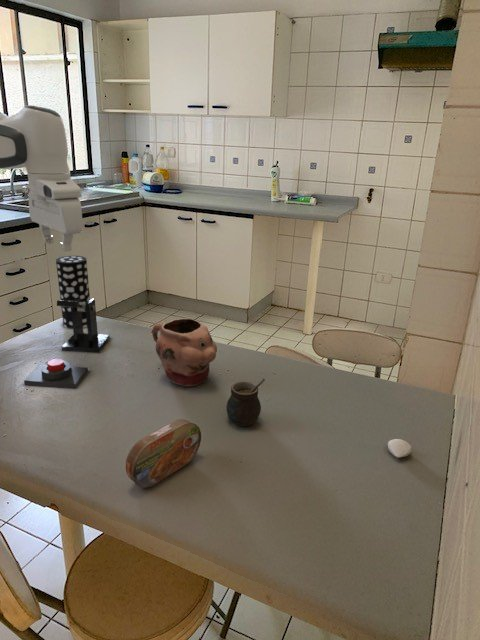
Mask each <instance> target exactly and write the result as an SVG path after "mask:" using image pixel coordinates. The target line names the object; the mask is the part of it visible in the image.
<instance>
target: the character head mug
mask: <svg viewBox="0 0 480 640" xmlns="http://www.w3.org/2000/svg"><path fill="white" fill-rule="evenodd" d="M151 333H152V334H151V335H152V338H153V341H154V342H155V352H156V354H157V357H158V358H159V361H160V362H161V365H162V367H163V369H164V372H165V374H166V377H167V379H168V380H169V381H170V382H172V383H173V384H176V385H179V386H184V387H194V386H197V385H200V384H202V383H204V382H205V381H206V380H207V379H208V378H209V374H210V363H212V362H213V361H214V360H215V359H216V357H217V352H218V347H217V344H216V342H215V341H214V339H213V338H212V335H211V333H210V331H209V329H208V326H207V325H205V324H203V323H202V322H200V321H198V320H195V319H193V318H185V317H184V318H176V319H172V320H168V321H166V322H165V323H161V322H157V323H155V324H154V325H153V326H152V329H151ZM158 333H159V334H158ZM158 335H159V336H158Z"/></svg>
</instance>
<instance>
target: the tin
mask: <svg viewBox="0 0 480 640" xmlns="http://www.w3.org/2000/svg"><path fill="white" fill-rule="evenodd" d="M201 442H202V432H201V428H200V427H199V425H197V423H195V422H192V421H190V420H187V419H185V418H180V419H175V420H174V421H171V422H170V423H167V424H166V425H164V426H162V427H161V428H158V429H156V430H155V431H153V432H151V433H149V434H147V435H145V436H144V437H141V439H139V440H138V441H137V442H135V443H134V444H133V446H132V447H131V449H130V450H129V452H128V454H127V456H126V459H125V472H126V475H127V477H128V478H129V479H130V480H131V481H132V482H134V483H135V485H136V486H138V487H139V488H143V489H145V488H146V489H147V488H150V487H153V486H155V485H157V484H159V482H161V481H162V480H164V479H166V478H168V477H169V476H170V475H172V474H174V473H175V472H177V471H178V470H180V469H182V468H183V467H185V466H187V465H188V464H189V463H191V461H192V460H193V459H194V458H195V456H196V455H197V453H198V452H199V449H200V446H201Z"/></svg>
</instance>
